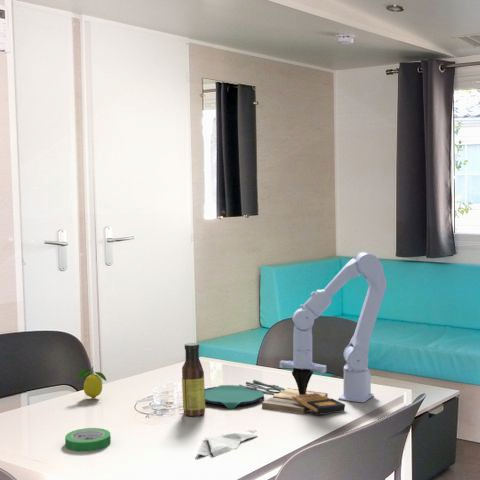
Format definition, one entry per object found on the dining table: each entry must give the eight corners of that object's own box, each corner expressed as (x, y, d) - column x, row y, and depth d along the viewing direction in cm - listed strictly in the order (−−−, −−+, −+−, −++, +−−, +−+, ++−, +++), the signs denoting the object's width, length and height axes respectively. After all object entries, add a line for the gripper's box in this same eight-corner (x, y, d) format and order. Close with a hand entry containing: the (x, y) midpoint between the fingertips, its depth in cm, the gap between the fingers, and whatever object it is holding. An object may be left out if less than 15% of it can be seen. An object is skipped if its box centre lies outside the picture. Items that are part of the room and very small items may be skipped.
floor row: (271, 402, 230) (271, 397, 230) (311, 408, 224) (311, 402, 224) (262, 407, 225) (262, 402, 225) (303, 413, 219) (303, 408, 219)
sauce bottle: (209, 413, 219) (209, 344, 218) (193, 418, 215) (193, 347, 213) (193, 409, 224) (193, 340, 222) (177, 413, 219) (177, 344, 218)
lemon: (77, 400, 233) (77, 367, 233) (88, 395, 239) (88, 363, 238) (96, 402, 231) (96, 369, 230) (107, 397, 236) (106, 365, 236)
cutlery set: (183, 400, 234) (183, 392, 234) (251, 383, 256) (251, 376, 255) (230, 414, 220) (230, 406, 220) (298, 395, 242) (298, 387, 242)
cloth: (243, 428, 208) (243, 420, 208) (280, 440, 198) (280, 431, 198) (166, 451, 190) (166, 442, 190) (202, 466, 180) (202, 456, 180)
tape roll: (70, 455, 187) (70, 444, 187) (61, 441, 197) (61, 431, 197) (115, 448, 191) (115, 438, 191) (104, 435, 201) (104, 425, 201)
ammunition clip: (318, 408, 215) (289, 393, 224) (317, 414, 215) (288, 399, 224) (345, 404, 221) (316, 390, 231) (344, 410, 222) (315, 396, 231)
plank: (288, 393, 241) (288, 388, 241) (327, 398, 235) (327, 393, 235) (272, 401, 231) (272, 396, 231) (313, 407, 225) (313, 401, 225)
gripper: (275, 349, 233) (275, 393, 234) (320, 354, 227) (319, 400, 228) (285, 344, 240) (284, 388, 241) (329, 349, 233) (328, 394, 234)
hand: (302, 393), depth 234 cm, fingers closed, pressing on plank
